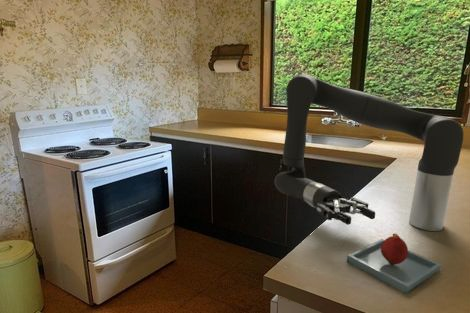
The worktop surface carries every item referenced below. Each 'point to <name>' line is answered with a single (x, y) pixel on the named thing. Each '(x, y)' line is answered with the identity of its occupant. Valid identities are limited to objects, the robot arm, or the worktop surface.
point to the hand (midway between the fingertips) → (362, 218)
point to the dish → (394, 267)
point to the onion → (394, 249)
